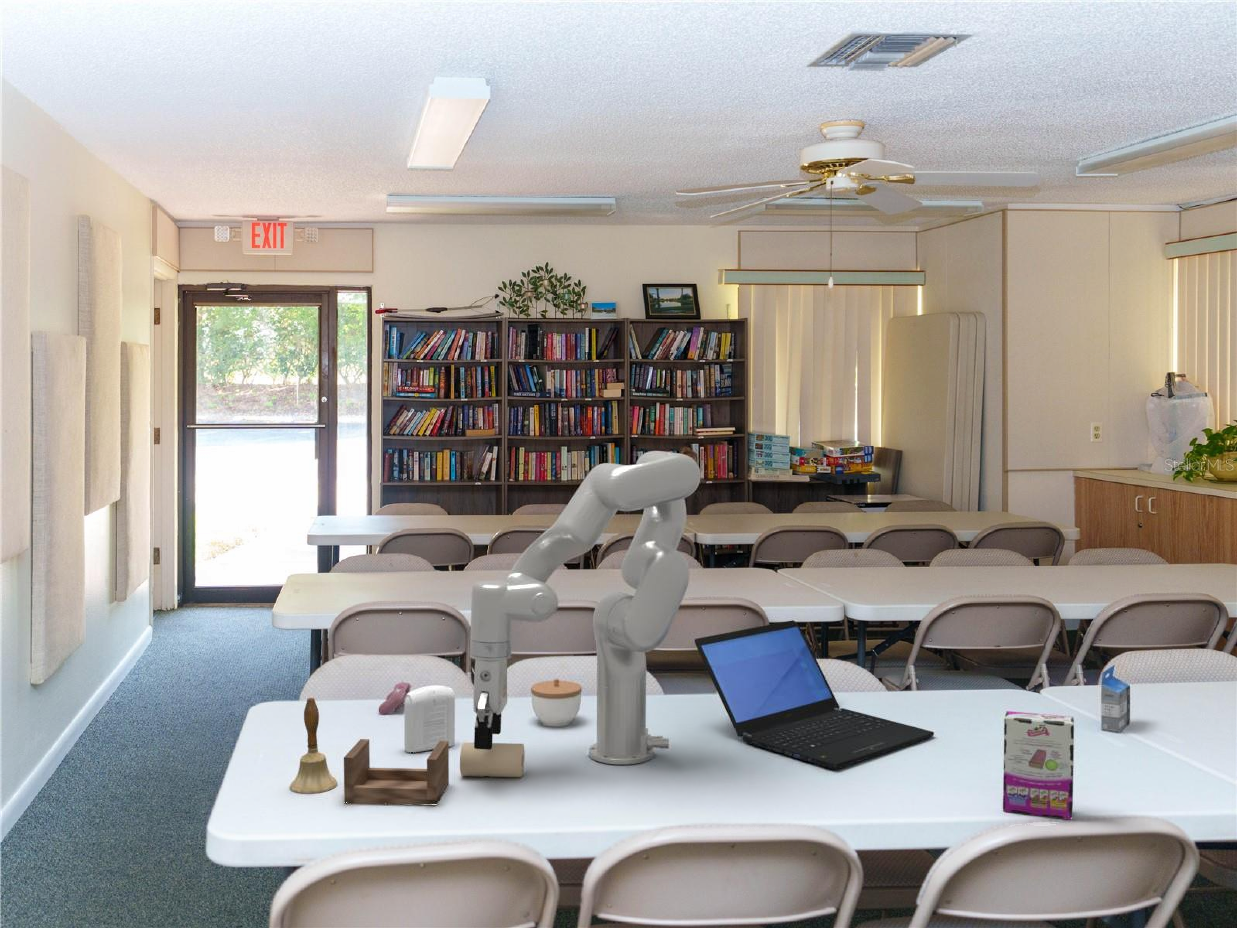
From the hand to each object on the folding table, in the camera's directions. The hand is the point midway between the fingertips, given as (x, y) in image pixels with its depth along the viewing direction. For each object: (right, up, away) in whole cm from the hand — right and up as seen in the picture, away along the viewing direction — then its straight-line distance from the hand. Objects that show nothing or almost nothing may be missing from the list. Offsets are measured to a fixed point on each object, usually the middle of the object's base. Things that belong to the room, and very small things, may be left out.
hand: (487, 740), depth 216 cm
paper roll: (+1, -7, +1) cm, 7 cm away
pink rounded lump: (-25, -4, +44) cm, 51 cm away
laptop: (+64, -5, +28) cm, 70 cm away
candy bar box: (+95, -8, -16) cm, 97 cm away
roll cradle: (-15, -7, -9) cm, 19 cm away
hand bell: (-31, -7, -5) cm, 32 cm away
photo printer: (-13, -6, +17) cm, 22 cm away
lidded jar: (+11, -4, +34) cm, 36 cm away
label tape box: (+129, -5, +33) cm, 133 cm away
